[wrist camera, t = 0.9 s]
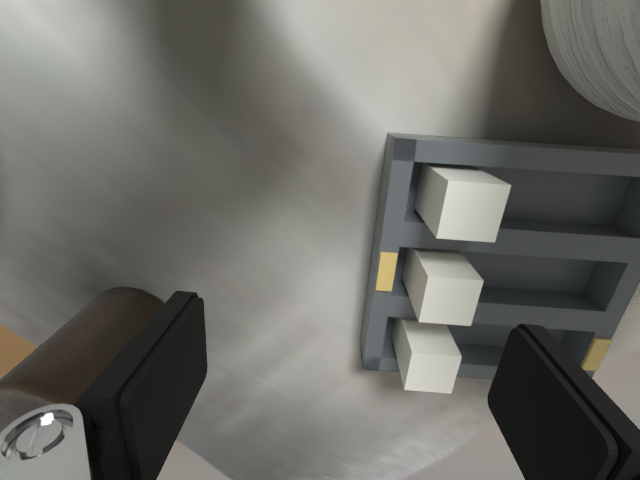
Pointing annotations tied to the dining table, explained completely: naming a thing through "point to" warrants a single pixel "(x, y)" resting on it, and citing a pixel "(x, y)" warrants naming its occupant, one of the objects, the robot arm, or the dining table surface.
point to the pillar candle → (75, 353)
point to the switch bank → (515, 247)
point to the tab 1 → (425, 355)
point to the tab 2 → (461, 202)
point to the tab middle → (441, 286)
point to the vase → (597, 50)
